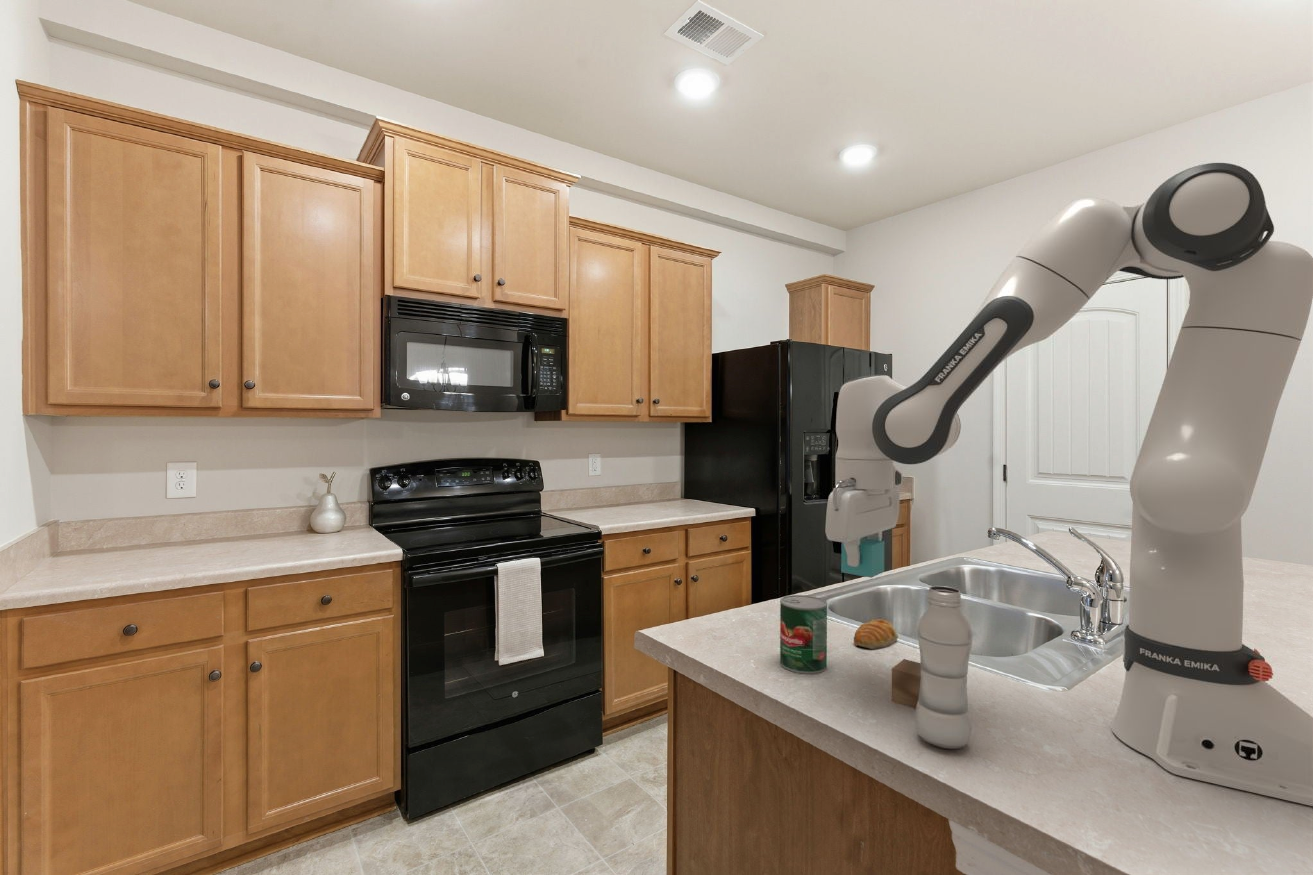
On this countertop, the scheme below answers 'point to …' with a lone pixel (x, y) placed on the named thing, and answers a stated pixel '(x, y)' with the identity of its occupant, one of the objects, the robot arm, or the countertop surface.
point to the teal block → (866, 558)
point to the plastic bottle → (944, 670)
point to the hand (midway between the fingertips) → (863, 562)
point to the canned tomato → (803, 634)
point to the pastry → (875, 634)
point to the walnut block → (906, 683)
